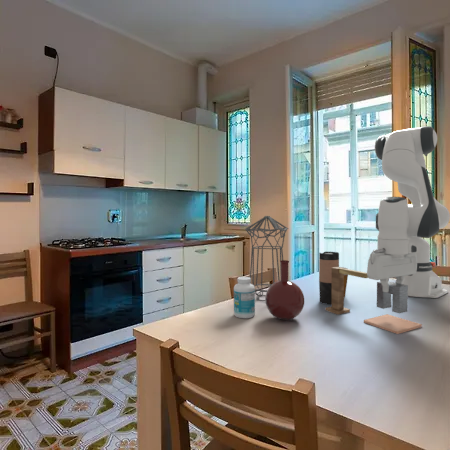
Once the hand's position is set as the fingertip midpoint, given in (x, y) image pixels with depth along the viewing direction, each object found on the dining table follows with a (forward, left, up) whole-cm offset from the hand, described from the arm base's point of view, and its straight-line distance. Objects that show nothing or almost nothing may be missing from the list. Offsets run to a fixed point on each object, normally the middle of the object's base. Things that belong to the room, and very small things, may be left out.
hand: (392, 290), depth 107 cm
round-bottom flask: (+26, -22, -11) cm, 36 cm away
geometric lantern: (+15, -47, -11) cm, 50 cm away
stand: (+4, -14, -11) cm, 18 cm away
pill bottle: (+36, -32, -11) cm, 49 cm away
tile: (0, 0, -11) cm, 11 cm away
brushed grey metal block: (0, 0, -6) cm, 6 cm away
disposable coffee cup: (-12, -34, -11) cm, 38 cm away
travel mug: (-2, -29, -11) cm, 31 cm away
